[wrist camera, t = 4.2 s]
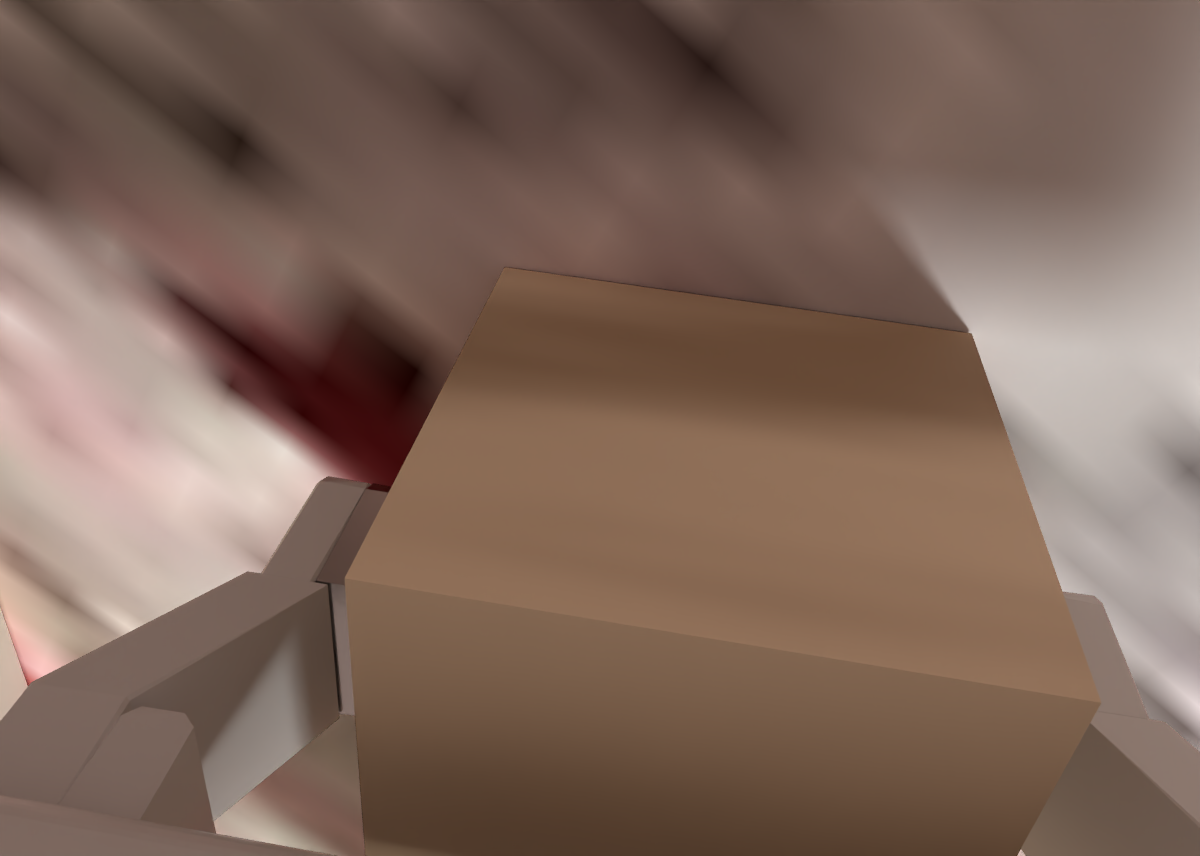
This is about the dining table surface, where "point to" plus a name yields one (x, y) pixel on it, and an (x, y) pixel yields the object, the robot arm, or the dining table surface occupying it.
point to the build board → (9, 671)
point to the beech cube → (708, 593)
